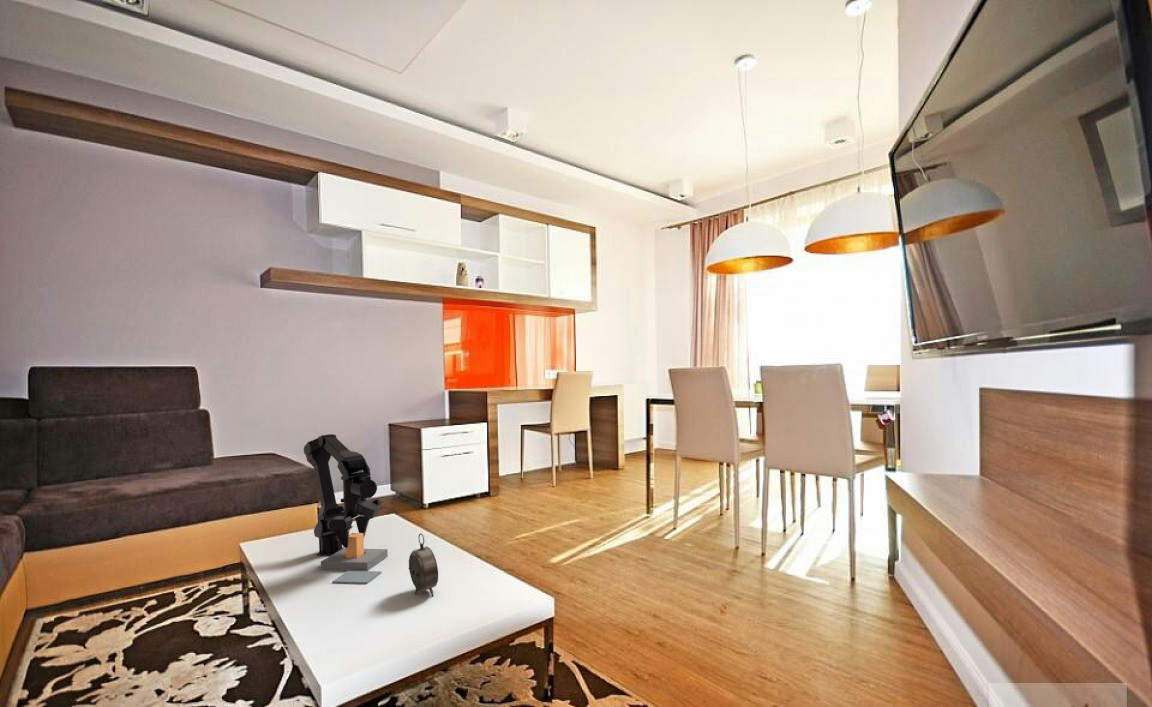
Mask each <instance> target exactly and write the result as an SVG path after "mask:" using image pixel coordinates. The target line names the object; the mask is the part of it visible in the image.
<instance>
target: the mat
mask: <svg viewBox="0 0 1152 707" xmlns="http://www.w3.org/2000/svg"><path fill="white" fill-rule="evenodd" d="M381 574H382V571H379V570H378V571H376V570H368V571H356V570H346V571H345V572H344V573H342V574H341V575H339V576H338V577H336V578H335V579H333V580H332V584H348V585H349V584H351V585H352V584H353V585H354V584H355V585H368V584H369V583H370V582H372V581H373V580H374V579H376V578H377V577H378V576H380V575H381Z"/></svg>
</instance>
